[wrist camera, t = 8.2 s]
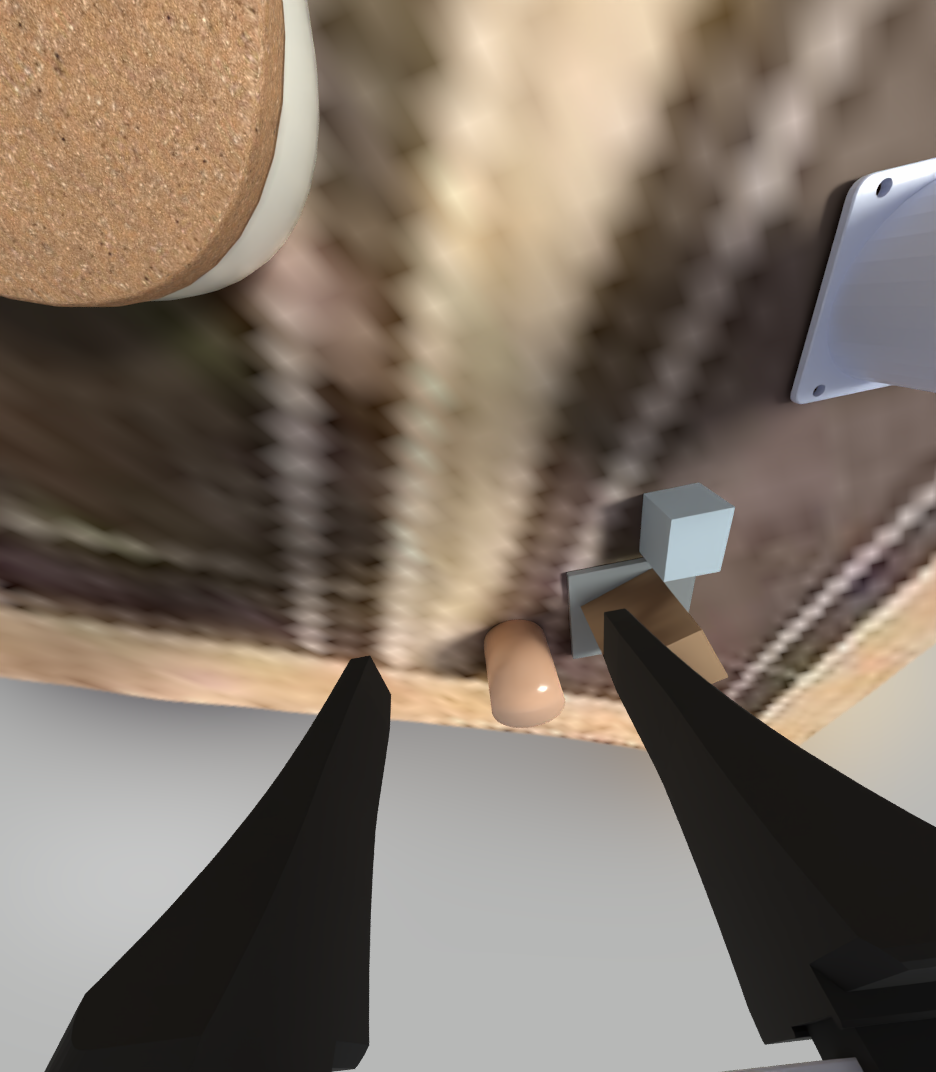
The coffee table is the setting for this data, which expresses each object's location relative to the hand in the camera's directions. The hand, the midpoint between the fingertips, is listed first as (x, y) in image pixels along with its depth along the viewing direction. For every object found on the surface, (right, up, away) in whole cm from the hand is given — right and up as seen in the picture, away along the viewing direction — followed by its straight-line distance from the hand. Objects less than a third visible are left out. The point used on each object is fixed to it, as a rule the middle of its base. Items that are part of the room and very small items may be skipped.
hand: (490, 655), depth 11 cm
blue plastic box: (+11, +5, +10) cm, 15 cm away
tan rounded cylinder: (+3, -4, +15) cm, 15 cm away
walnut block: (+10, -1, +13) cm, 16 cm away
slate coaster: (+10, -1, +13) cm, 17 cm away
